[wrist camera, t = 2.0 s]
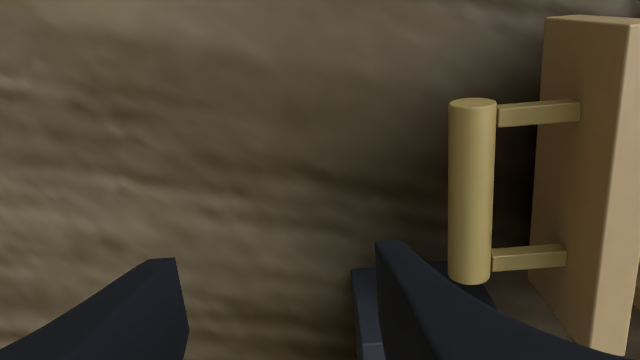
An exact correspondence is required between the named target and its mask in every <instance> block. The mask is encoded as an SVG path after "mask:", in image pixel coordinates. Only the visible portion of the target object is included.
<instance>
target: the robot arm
mask: <svg viewBox="0 0 640 360" xmlns="http://www.w3.org/2000/svg"><path fill="white" fill-rule="evenodd" d="M375 259H376V279H377V300H378V317H379V324H380V330H381V337H382V343H383V349H384V354H385V358H386V360H634V359H630V358H626V357H622V356H617V355H613V354H609V353H605V352H602V351H598V350H595V349H592V348H589V347H586V346H583V345H580V344H577V343H574V342H570V341H567V340H565V339H562V338H559V337H556V336H554V335H551V334H548V333H546V332H543V331H541V330H539V329H536V328H534V327H532V326H529V325H527V324H525V323H522V322H520V321H518V320H516V319H514V318H511V317H509V316H507V315H505V314H503V313H501V312H500V311H498V310H496V309H494V308H492V307H490V306H489V305H487V304H485V303H483V302H481V301H480V300H478V299H476V298H475V297H473V296H471V295H470V294H468V293H467V292H465V291H464V290H462V289H461V288H459V287H458V286H456V285H455V284H453V283H452V282H451V281H449V280H448V279H447V278H445V277H444V276H443V275H441V274H440V273H439V272H437V271H436V270H435V269H434V268H432V267H431V266H430V265H429V264H428V263H426V262H425V261H424V260H423V259H422V258H421V257H419V256H418V255H417V254H416V253H415V252H414V251H413V250H412V249H410V248H409V247H408V246H407V245H406V244H405V243H404V242H402V241H401V240H394V241H381V242H375ZM188 335H189V325H188V320H187V315H186V310H185V305H184V300H183V295H182V290H181V285H180V280H179V275H178V270H177V265H176V261H175V257H173V258H160V259H149V260H147V261H145V262H143V263H141V264H140V265H138V266H136V267H135V268H133V269H132V270H130V271H129V272H127V273H126V274H124V275H123V276H121V277H120V278H118V279H117V280H115V281H114V282H112V283H111V284H109V285H108V286H106V287H105V288H103V289H102V290H100V291H99V292H97V293H96V294H94V295H93V296H91V297H90V298H88V299H87V300H85V301H84V302H82V303H81V304H79V305H77V306H76V307H74V308H73V309H71V310H69V311H68V312H66V313H65V314H63V315H61V316H60V317H58V318H57V319H55V320H53V321H52V322H50V323H48V324H47V325H45V326H43V327H42V328H40V329H38V330H36V331H34V332H33V333H31V334H29V335H27V336H25V337H23V338H21V339H19V340H18V341H16V342H14V343H12V344H10V345H8V346H6V347H4V348H2V349H0V360H183V358H184V353H185V349H186V344H187V339H188Z"/></svg>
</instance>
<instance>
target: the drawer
mask: <svg viewBox="0 0 640 360" xmlns="http://www.w3.org/2000/svg"><path fill="white" fill-rule="evenodd" d="M537 124H538V130H537V145H536V159H535V174H534V189H533V204H532V218H531V233H530V246H521V247H508V248H495V249H491V240H492V215H493V189H494V164H495V138H496V126H497V127H499V128H500V127H513V126H525V125H537ZM490 269H491V270H492V272H498V271H511V270H525V269H528V277H527V278H528V280H529V281H530V282H531V284H532V285H533V286H534V288H535V289H536V290H537V292H538V293H539V294H540V296H541V297H542V298H543V300H544V301H545V302H546V304H547V305H548V306H549V308H550V309H551V310H552V312H553V313H554V314H555V315H556V317H557V318H558V319H559V321H560V322H561V323H562V325H563V326H564V327H565V329H566V330H567V331H568V333H569V334H570V335H571V337H572V338H573V339H574V341H575V342H576V343H577V344H580V345H583V346H586V347H589V348H592V349H595V350H598V351H602V352H605V353H609V354H613V355H617V356H624V355H625V351H626V344H627V338H628V331H629V324H630V318H631V311H632V305H634V306H635V307H636V308H637V309H638V310H639V311H640V18H625V17H609V16H594V15H567V16H555V17H547V18H545V27H544V42H543V56H542V71H541V86H540V101H536V102H524V103H512V104H499V105H497V103H496V101H494V100H492V99H487V98H463V99H457V100H453V101H451V102H450V103H449V135H448V275H449V277H450V278H451V279H452V280H453V281H455V282H458V283H460V284H465V285H478V284H482V283H484V282H486V281H487V280H488V279H489V278H490Z"/></svg>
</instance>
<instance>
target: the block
mask: <svg viewBox="0 0 640 360" xmlns="http://www.w3.org/2000/svg"><path fill="white" fill-rule="evenodd" d="M428 264H429V265H430V266H431V267H432V268H434V269H435V270H436V271H437V272H439V273H440V274H441V275H443V276H444V277H445V278H447V279H448V280H449V281H451V282H452V283H453V284H455V285H456V286H458V287H459V288H461V289H462V290H464V291H465V292H467V293H468V294H470V295H471V296H473V297H475V298H476V299H478V300H480V301H481V302H483V303H485V304H487V305H489V306H490V307H492V308H494V309H496V310H498V309H497V307H496V305H495V304H494V302H493V300H492V299H491V297H490V295H489V294H488V292H487V290H486V288H485V287H484V285H483V283H482V284H478V285H465V284H460V283H458V282H455V281H453V280H452V279H451V278H450V277H449V275H448V262H439V263H428ZM351 277H352V291H353V306H354V321H355V336H356V350H357V360H386V358H385V354H384V349H383V343H382V337H381V330H380V324H379V317H378V300H377V279H376V267H373V268H360V269H352V270H351Z"/></svg>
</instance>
